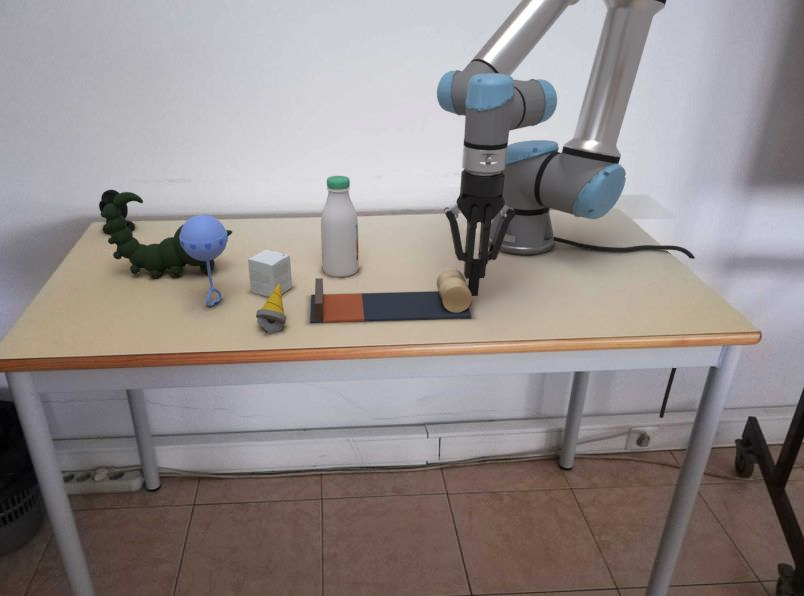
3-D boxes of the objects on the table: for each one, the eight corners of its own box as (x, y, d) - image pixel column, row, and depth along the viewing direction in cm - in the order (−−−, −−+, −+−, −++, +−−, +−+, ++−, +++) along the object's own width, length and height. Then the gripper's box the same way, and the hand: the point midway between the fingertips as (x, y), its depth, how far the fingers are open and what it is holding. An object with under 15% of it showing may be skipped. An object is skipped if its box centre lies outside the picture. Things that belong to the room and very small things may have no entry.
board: (461, 292, 136) (462, 274, 134) (471, 318, 127) (473, 299, 125) (311, 296, 135) (310, 278, 133) (310, 323, 125) (309, 303, 123)
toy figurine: (118, 290, 141) (237, 277, 142) (90, 203, 132) (218, 188, 132) (128, 272, 149) (242, 259, 150) (103, 188, 140) (224, 174, 140)
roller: (441, 298, 135) (468, 287, 134) (448, 317, 128) (475, 306, 127) (432, 275, 132) (459, 264, 131) (438, 292, 125) (466, 281, 125)
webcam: (96, 231, 167) (87, 191, 162) (120, 222, 172) (112, 183, 167) (118, 237, 163) (109, 196, 158) (142, 228, 169) (134, 188, 163)
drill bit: (249, 332, 123) (261, 282, 126) (276, 341, 125) (288, 290, 128) (256, 327, 118) (269, 274, 121) (285, 335, 120) (297, 283, 123)
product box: (269, 281, 141) (266, 248, 137) (293, 287, 138) (291, 254, 135) (250, 292, 137) (247, 258, 133) (274, 299, 134) (271, 265, 130)
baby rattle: (213, 319, 127) (201, 227, 118) (180, 308, 131) (165, 218, 122) (244, 301, 133) (235, 213, 124) (211, 291, 137) (200, 205, 128)
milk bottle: (354, 279, 142) (352, 184, 132) (318, 276, 143) (314, 182, 133) (362, 264, 149) (361, 173, 138) (327, 262, 150) (324, 171, 140)
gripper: (449, 176, 115) (442, 302, 127) (525, 175, 115) (511, 300, 127) (442, 164, 121) (436, 285, 133) (515, 163, 122) (502, 284, 134)
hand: (472, 293), depth 130 cm, fingers closed
